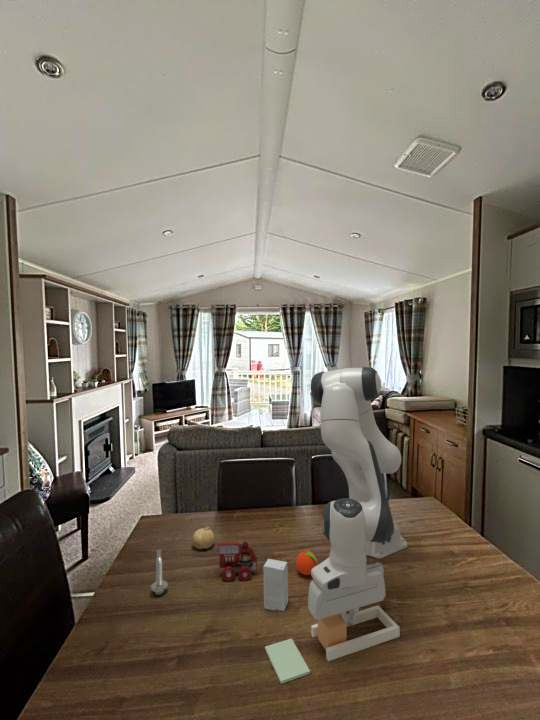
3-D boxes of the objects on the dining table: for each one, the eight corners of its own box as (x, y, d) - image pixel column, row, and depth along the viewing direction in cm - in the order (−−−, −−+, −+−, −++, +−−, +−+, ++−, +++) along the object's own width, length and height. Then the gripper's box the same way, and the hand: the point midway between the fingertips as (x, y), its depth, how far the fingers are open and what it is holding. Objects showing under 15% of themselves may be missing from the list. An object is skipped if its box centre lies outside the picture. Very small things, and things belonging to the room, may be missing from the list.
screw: (148, 592, 111) (162, 585, 114) (155, 600, 107) (171, 592, 111) (147, 549, 110) (162, 543, 114) (155, 555, 107) (170, 549, 110)
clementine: (324, 574, 119) (324, 552, 119) (311, 584, 114) (311, 561, 114) (305, 564, 124) (304, 543, 124) (291, 573, 119) (291, 551, 119)
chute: (378, 616, 100) (378, 605, 100) (399, 639, 92) (399, 627, 92) (311, 637, 93) (311, 625, 93) (328, 664, 85) (328, 651, 85)
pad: (302, 637, 93) (302, 634, 93) (322, 669, 84) (322, 666, 84) (264, 649, 89) (264, 646, 89) (280, 683, 80) (280, 681, 80)
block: (335, 632, 93) (335, 609, 93) (346, 647, 89) (346, 623, 89) (317, 638, 92) (317, 614, 92) (328, 654, 87) (327, 628, 87)
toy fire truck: (257, 580, 116) (256, 547, 116) (217, 582, 115) (216, 549, 115) (257, 567, 123) (256, 536, 123) (219, 569, 122) (218, 537, 122)
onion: (207, 554, 131) (207, 534, 131) (188, 550, 134) (187, 530, 134) (218, 543, 139) (218, 524, 139) (199, 539, 141) (199, 521, 141)
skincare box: (288, 603, 105) (288, 561, 105) (284, 613, 101) (283, 570, 101) (268, 598, 107) (267, 557, 107) (263, 608, 103) (262, 566, 103)
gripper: (375, 553, 98) (375, 605, 98) (305, 570, 91) (305, 626, 91) (391, 566, 92) (391, 621, 92) (317, 586, 85) (317, 645, 85)
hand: (347, 624), depth 92 cm, fingers closed
